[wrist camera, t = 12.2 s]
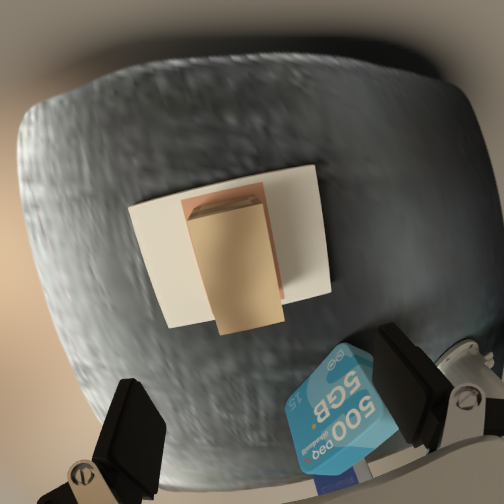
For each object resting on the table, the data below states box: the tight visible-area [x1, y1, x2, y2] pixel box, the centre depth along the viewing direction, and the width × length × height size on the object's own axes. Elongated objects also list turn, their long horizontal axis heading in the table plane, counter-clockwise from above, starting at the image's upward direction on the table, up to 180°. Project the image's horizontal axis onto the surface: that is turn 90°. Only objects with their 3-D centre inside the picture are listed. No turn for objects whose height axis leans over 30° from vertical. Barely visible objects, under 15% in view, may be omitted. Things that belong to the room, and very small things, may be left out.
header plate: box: [128, 164, 331, 328], centre depth 25 cm, size 16×12×2 cm
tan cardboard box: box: [187, 194, 285, 335], centre depth 22 cm, size 5×9×5 cm, turn 11°
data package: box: [285, 343, 399, 475], centre depth 27 cm, size 12×4×12 cm, turn 147°
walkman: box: [312, 458, 373, 496], centre depth 32 cm, size 8×3×12 cm, turn 113°
